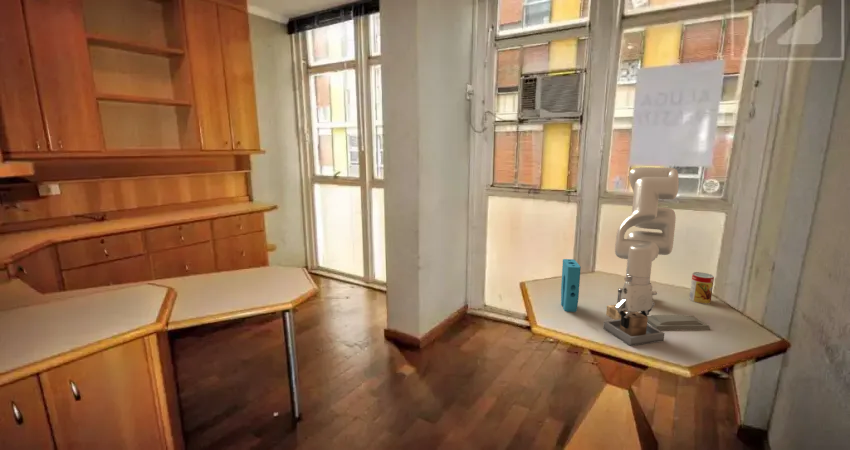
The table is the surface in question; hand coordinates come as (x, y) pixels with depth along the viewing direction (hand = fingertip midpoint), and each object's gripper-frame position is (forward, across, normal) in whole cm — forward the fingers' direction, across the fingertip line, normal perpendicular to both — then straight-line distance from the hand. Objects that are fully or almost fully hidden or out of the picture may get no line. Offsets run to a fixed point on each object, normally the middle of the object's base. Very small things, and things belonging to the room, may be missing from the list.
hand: (633, 325), depth 145 cm
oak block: (+4, +6, +14) cm, 16 cm away
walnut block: (+3, 0, 0) cm, 3 cm away
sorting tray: (+4, 0, 0) cm, 4 cm away
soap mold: (+5, +22, +3) cm, 23 cm away
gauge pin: (+4, +6, +14) cm, 16 cm away
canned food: (+4, +53, +20) cm, 57 cm away
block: (+4, -8, +28) cm, 29 cm away
